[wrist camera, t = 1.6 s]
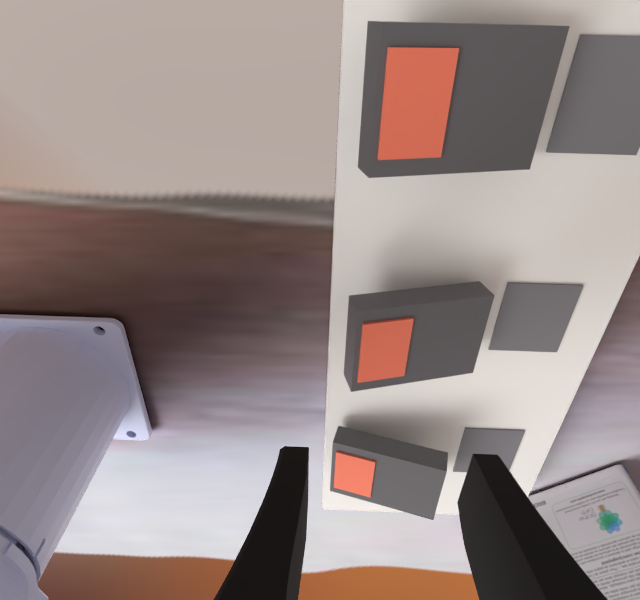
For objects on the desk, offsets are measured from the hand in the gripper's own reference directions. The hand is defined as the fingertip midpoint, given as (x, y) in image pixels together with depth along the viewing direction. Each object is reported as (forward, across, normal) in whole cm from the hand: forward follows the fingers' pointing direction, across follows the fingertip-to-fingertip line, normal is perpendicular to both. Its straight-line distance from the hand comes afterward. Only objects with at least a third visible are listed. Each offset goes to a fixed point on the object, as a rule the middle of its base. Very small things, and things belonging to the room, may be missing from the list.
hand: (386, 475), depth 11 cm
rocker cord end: (+6, -2, -8) cm, 10 cm away
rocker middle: (+6, -2, 0) cm, 7 cm away
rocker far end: (+6, -2, +8) cm, 10 cm away
